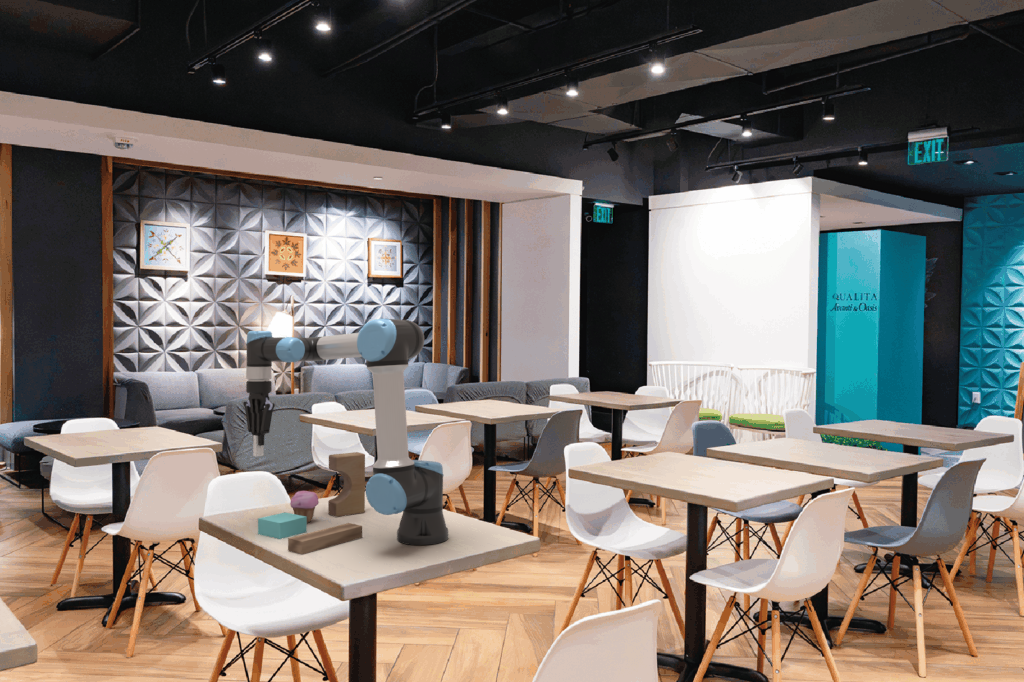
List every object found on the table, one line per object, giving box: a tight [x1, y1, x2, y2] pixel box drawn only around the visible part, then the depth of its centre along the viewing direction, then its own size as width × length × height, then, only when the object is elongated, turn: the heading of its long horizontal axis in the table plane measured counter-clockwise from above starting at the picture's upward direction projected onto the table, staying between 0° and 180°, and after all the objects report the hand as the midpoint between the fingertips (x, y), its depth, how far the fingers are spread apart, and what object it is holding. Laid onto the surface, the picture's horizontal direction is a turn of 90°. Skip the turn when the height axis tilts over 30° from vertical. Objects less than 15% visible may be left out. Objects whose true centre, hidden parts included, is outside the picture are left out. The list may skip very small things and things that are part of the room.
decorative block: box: [327, 451, 366, 518], centre depth 255 cm, size 11×6×20 cm, turn 128°
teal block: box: [257, 512, 308, 540], centre depth 229 cm, size 10×10×5 cm
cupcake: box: [289, 490, 320, 524], centre depth 243 cm, size 9×9×10 cm
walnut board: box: [287, 522, 363, 555], centre depth 217 cm, size 6×22×4 cm, turn 144°
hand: (258, 455), depth 236 cm, fingers closed
